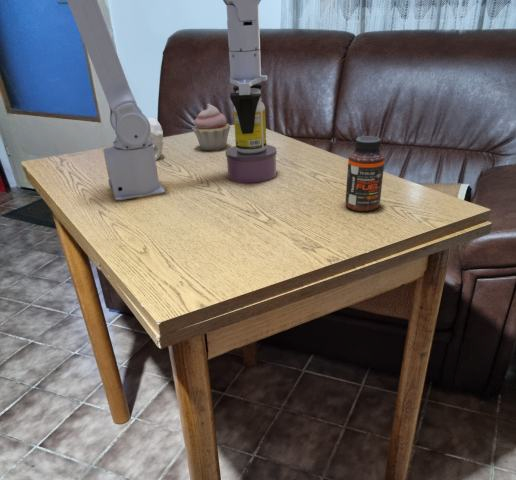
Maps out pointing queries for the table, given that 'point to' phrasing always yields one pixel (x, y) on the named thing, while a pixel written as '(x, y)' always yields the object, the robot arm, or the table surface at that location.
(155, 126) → the penguin figurine
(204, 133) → the cupcake
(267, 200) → the table surface
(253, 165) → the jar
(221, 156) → the table surface
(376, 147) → the supplement bottle
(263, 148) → the pill bottle
